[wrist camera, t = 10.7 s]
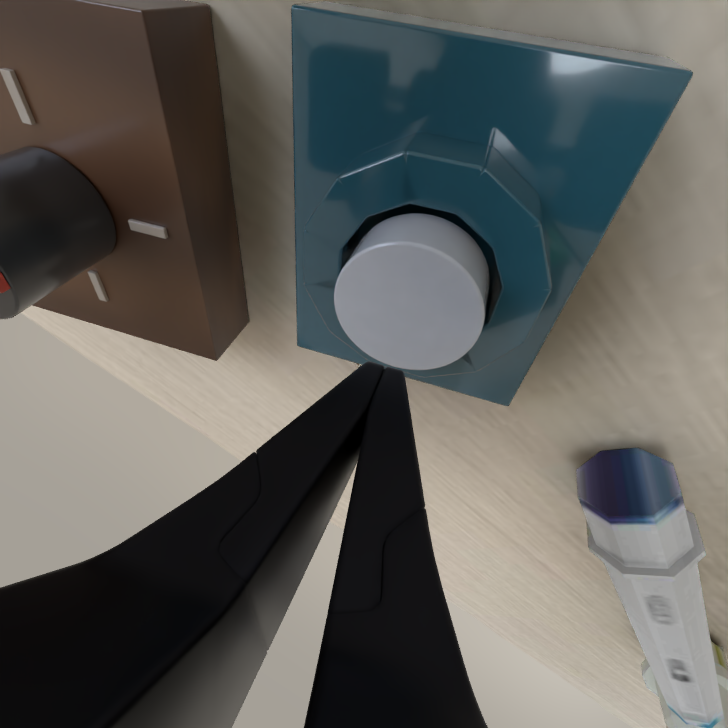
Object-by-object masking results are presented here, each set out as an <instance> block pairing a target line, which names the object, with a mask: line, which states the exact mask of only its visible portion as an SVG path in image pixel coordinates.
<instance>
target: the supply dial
mask: <svg viewBox="0 0 728 728" xmlns="http://www.w3.org/2000/svg"><path fill="white" fill-rule="evenodd" d="M115 242H116V230H115V225H114V222H113V219H112V216H111V214H110V211H109V209H108V208H107V206H106V204H105V202H104V200H103V199H102V197H101V196H100V194H99V193H98V192H97V190H96V189H95V188H94V186H93V185H92V184H91V183H90V182H89V181H88V180H87V178H86V177H85V176H84V175H83V174H82V173H81V172H79V171H78V170H77V169H76V168H75V167H74V166H72V165H71V164H70V163H69V162H67V161H66V160H64V159H63V158H61V157H59V156H58V155H56V154H54V153H52V152H50V151H47V150H44V149H41V148H36V147H23V148H20V149H17V150H13V151H10V152H7V153H4V154H1V155H0V319H8V318H12V317H14V316H16V315H17V314H19V313H20V312H22V311H23V310H25V309H26V308H28V307H30V306H31V305H33V304H34V303H36V302H37V301H39V300H40V299H42V298H43V297H45V296H46V295H48V294H49V293H51V292H52V291H54V290H56V289H57V288H59V287H60V286H62V285H63V284H65V283H66V282H68V281H69V280H71V279H72V278H74V277H75V276H77V275H79V274H80V273H82V272H83V271H85V270H86V269H88V268H89V267H91V266H92V265H94V264H95V263H97V262H98V261H100V260H102V259H103V258H105V257H106V256H108V255H109V254H110V253H111V252H112V250H113V248H114V246H115Z"/></svg>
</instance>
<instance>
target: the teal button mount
mask: <svg viewBox="0 0 728 728" xmlns="http://www.w3.org/2000/svg"><path fill="white" fill-rule="evenodd" d="M291 17H292V75H293V132H294V189H295V247H296V304H297V345H298V346H299V347H302V348H306V349H309V350H313V351H316V352H320V353H323V354H327V355H330V356H334V357H337V358H341V359H344V360H348V361H351V362H355V363H358V364H362V365H363V364H364V363H365V362H368V361H370V362H374V363H377V364H381V365H383V366H384V367H385V368H386V367H391V368H395V369H398V370H402V371H403V372H404V375H405V377H407V378H410V379H414V380H417V381H421V382H424V383H428V384H431V385H435V386H438V387H442V388H445V389H449V390H452V391H456V392H459V393H462V394H466V395H469V396H473V397H476V398H480V399H483V400H487V401H490V402H494V403H497V404H501V405H504V406H509V404H510V403H511V401H512V399H513V397H514V396H515V394H516V392H517V390H518V388H519V387H520V385H521V383H522V381H523V379H524V378H525V376H526V374H527V372H528V370H529V369H530V367H531V365H532V363H533V361H534V360H535V358H536V356H537V354H538V352H539V351H540V349H541V347H542V345H543V343H544V342H545V340H546V338H547V336H548V334H549V333H550V331H551V329H552V327H553V326H554V324H555V322H556V320H557V318H558V317H559V315H560V313H561V311H562V309H563V308H564V306H565V304H566V302H567V300H568V299H569V297H570V295H571V293H572V291H573V290H574V288H575V286H576V284H577V282H578V281H579V279H580V277H581V275H582V273H583V272H584V270H585V268H586V266H587V265H588V263H589V261H590V259H591V257H592V256H593V254H594V252H595V250H596V248H597V247H598V245H599V243H600V241H601V239H602V238H603V236H604V234H605V232H606V230H607V229H608V227H609V225H610V223H611V221H612V220H613V218H614V216H615V214H616V212H617V211H618V209H619V207H620V205H621V203H622V202H623V200H624V198H625V196H626V195H627V193H628V191H629V189H630V187H631V186H632V184H633V182H634V180H635V178H636V177H637V175H638V173H639V171H640V169H641V168H642V166H643V164H644V162H645V160H646V159H647V157H648V155H649V153H650V151H651V150H652V148H653V146H654V144H655V142H656V141H657V139H658V137H659V135H660V133H661V132H662V130H663V128H664V126H665V125H666V123H667V121H668V119H669V117H670V116H671V114H672V112H673V110H674V108H675V107H676V105H677V103H678V101H679V99H680V98H681V96H682V94H683V92H684V90H685V89H686V87H687V85H688V83H689V81H690V80H691V78H692V75H693V72H692V71H691V70H689V69H688V68H686V67H684V66H683V65H681V64H679V63H677V62H676V61H674V60H672V59H670V58H669V57H664V56H658V55H652V54H646V53H640V52H634V51H628V50H622V49H616V48H609V47H603V46H597V45H591V44H585V43H579V42H573V41H567V40H561V39H555V38H548V37H542V36H536V35H530V34H524V33H518V32H512V31H506V30H500V29H494V28H487V27H481V26H475V25H469V24H463V23H457V22H451V21H445V20H439V19H433V18H426V17H420V16H414V15H408V14H402V13H396V12H390V11H384V10H378V9H372V8H365V7H359V6H353V5H347V4H341V3H335V2H329V1H320V2H310V3H301V4H294V5H292V8H291ZM411 213H418V214H428V215H434V216H437V217H440V218H443V219H446V220H448V221H450V222H452V223H454V224H455V225H457V226H459V227H460V228H462V229H463V230H464V231H465V232H467V233H468V234H469V235H470V236H471V237H472V238H473V239H474V240H475V242H476V243H477V244H478V246H479V247H480V249H481V250H482V252H483V254H484V256H485V259H486V262H487V265H488V269H489V276H490V284H489V291H488V299H487V306H486V313H485V320H484V326H483V329H482V332H481V334H480V336H479V338H478V340H477V342H476V343H475V344H474V346H473V347H472V348H471V349H470V350H469V351H468V352H467V353H466V354H465V355H464V356H462V357H461V358H460V359H458V360H456V361H454V362H453V363H450V364H448V365H446V366H442V367H439V368H435V369H429V370H409V369H402V368H398V367H393V366H391V365H388V364H385V363H383V362H380V361H378V360H376V359H374V358H373V357H371V356H369V355H368V354H366V353H365V352H363V351H362V350H361V349H360V348H359V347H357V346H356V345H355V344H354V343H353V342H352V341H351V339H350V338H349V337H348V336H347V334H346V333H345V331H344V330H343V328H342V326H341V324H340V322H339V320H338V317H337V314H336V311H335V304H334V290H335V284H336V281H337V278H338V276H339V274H340V272H341V270H342V268H343V267H344V265H345V264H346V262H347V261H348V259H349V258H350V256H351V254H352V253H353V251H354V250H355V248H356V247H357V245H358V244H359V242H360V241H361V239H362V238H363V237H364V235H365V234H366V233H367V232H368V231H369V230H370V229H372V228H373V227H374V226H375V225H377V224H378V223H380V222H382V221H384V220H386V219H388V218H391V217H394V216H398V215H402V214H411Z"/></svg>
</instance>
